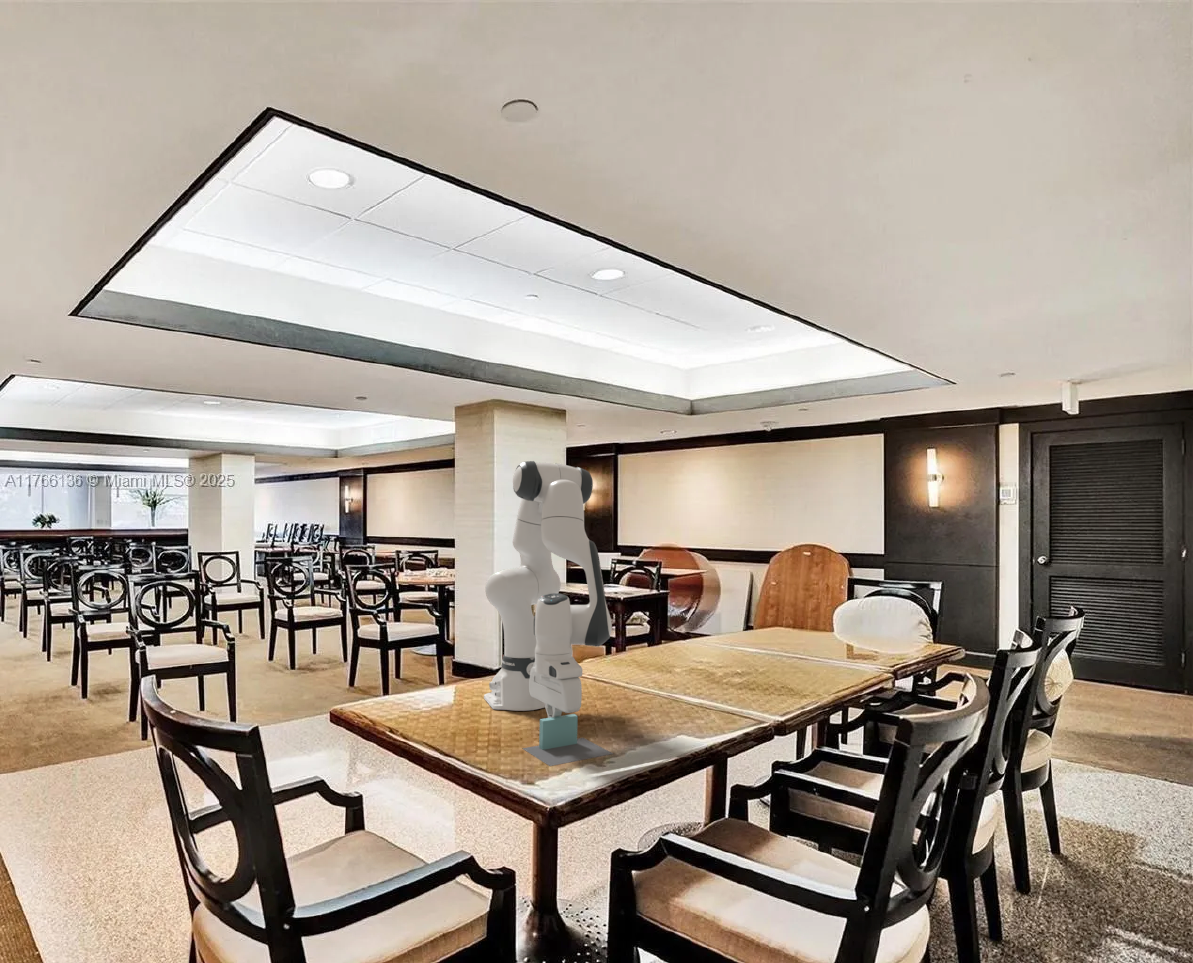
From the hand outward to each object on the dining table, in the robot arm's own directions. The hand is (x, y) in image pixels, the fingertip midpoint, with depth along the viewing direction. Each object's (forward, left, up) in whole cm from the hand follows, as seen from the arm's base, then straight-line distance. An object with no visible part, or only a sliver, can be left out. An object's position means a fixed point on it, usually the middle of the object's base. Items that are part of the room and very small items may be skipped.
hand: (553, 723), depth 178 cm
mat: (+7, 0, -5) cm, 9 cm away
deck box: (+2, 0, -4) cm, 5 cm away
